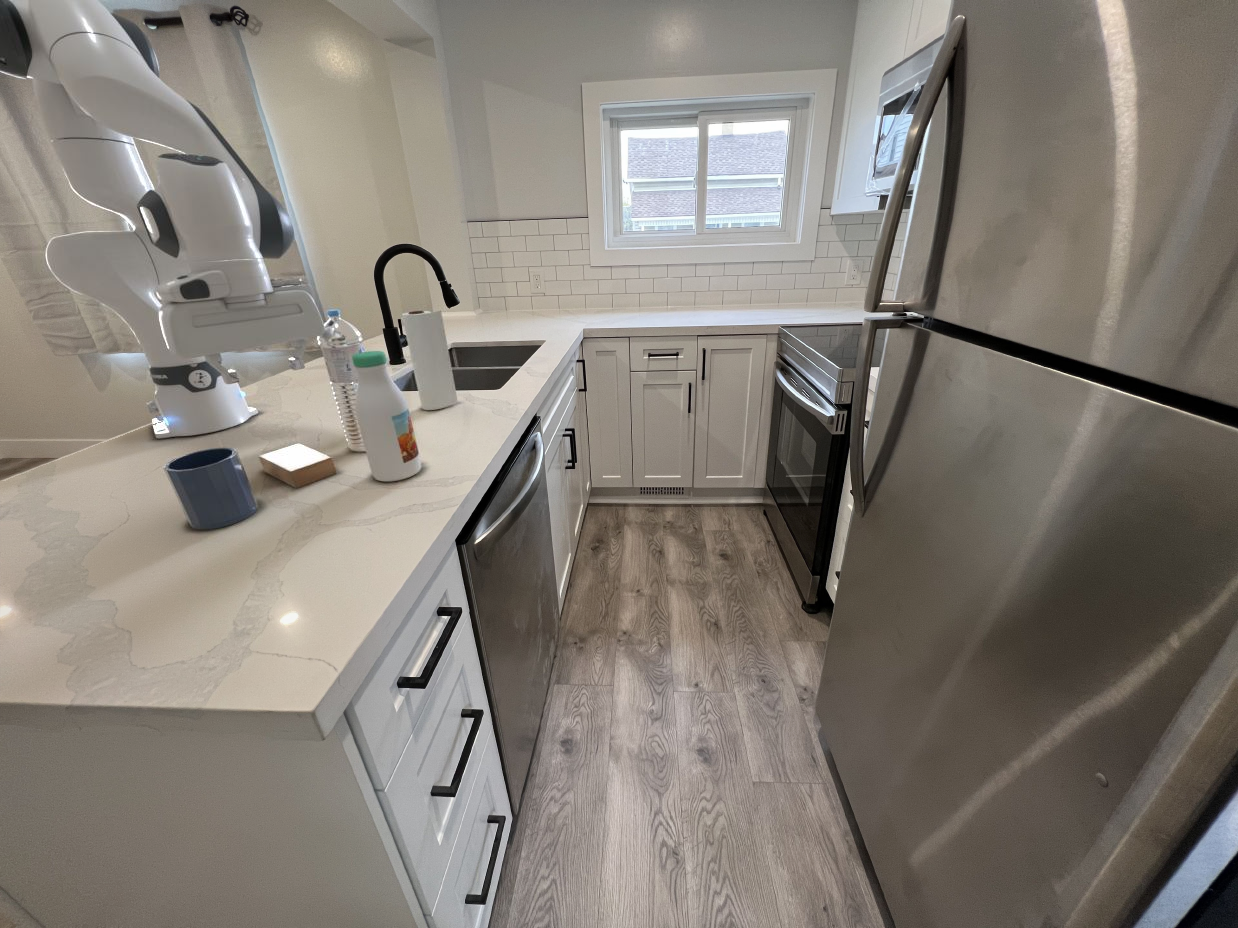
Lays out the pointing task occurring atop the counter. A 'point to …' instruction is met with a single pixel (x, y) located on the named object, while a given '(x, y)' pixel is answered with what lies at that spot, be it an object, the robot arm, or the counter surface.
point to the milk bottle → (384, 420)
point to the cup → (212, 488)
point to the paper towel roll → (430, 358)
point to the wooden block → (297, 465)
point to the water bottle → (343, 372)
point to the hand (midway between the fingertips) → (266, 375)
